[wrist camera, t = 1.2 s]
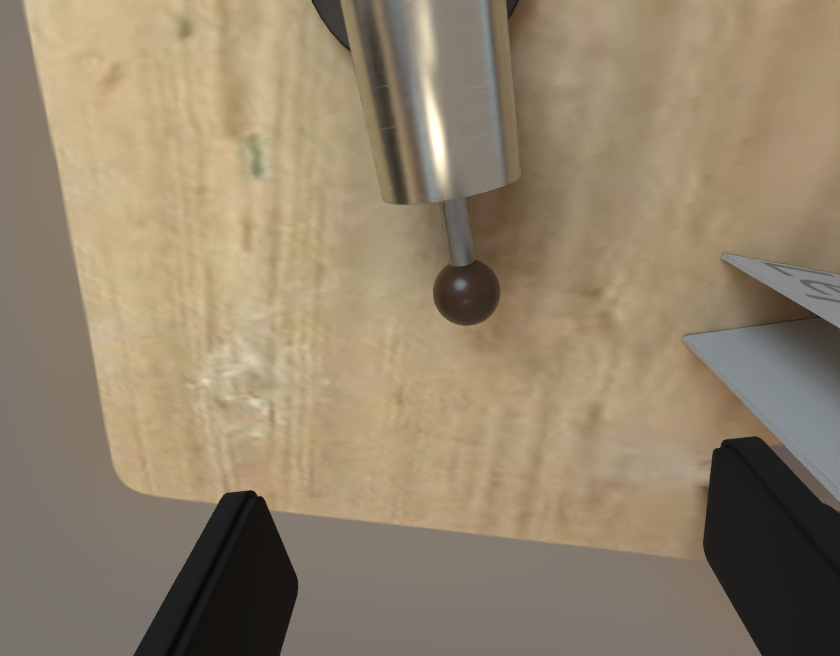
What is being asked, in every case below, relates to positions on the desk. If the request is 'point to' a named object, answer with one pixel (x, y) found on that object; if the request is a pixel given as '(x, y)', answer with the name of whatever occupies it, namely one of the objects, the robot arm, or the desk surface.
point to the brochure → (787, 366)
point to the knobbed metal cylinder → (439, 121)
